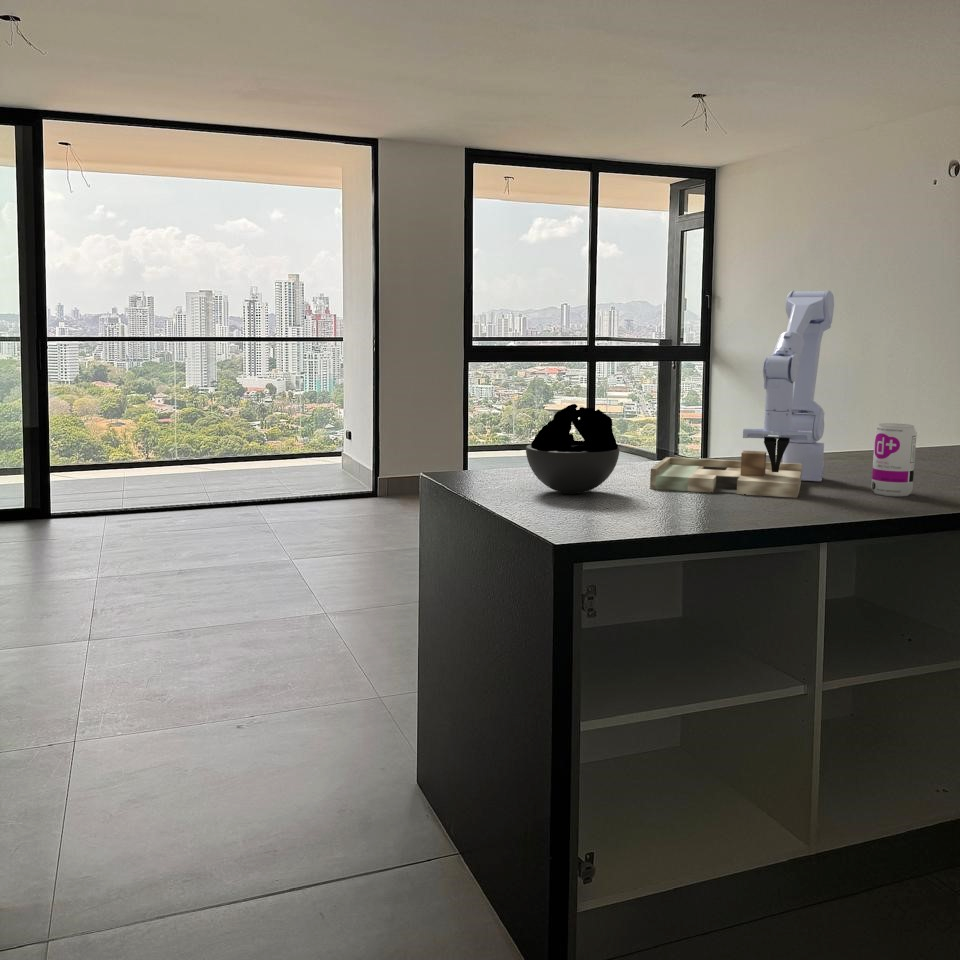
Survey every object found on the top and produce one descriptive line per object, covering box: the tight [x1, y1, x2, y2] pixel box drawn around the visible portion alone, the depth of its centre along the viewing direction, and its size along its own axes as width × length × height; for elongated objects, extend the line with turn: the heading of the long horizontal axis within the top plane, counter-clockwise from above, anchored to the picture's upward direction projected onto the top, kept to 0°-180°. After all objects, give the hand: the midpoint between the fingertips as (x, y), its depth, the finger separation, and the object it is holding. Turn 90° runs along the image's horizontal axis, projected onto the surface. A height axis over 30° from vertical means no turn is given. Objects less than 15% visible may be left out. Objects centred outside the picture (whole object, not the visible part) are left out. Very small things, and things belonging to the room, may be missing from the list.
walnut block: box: [740, 450, 767, 477], centre depth 219 cm, size 5×5×5 cm
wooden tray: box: [649, 456, 802, 499], centre depth 222 cm, size 31×21×4 cm
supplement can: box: [870, 422, 918, 497], centre depth 212 cm, size 8×8×15 cm
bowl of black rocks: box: [525, 403, 621, 495], centre depth 210 cm, size 20×20×19 cm
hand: (775, 471), depth 218 cm, fingers closed
